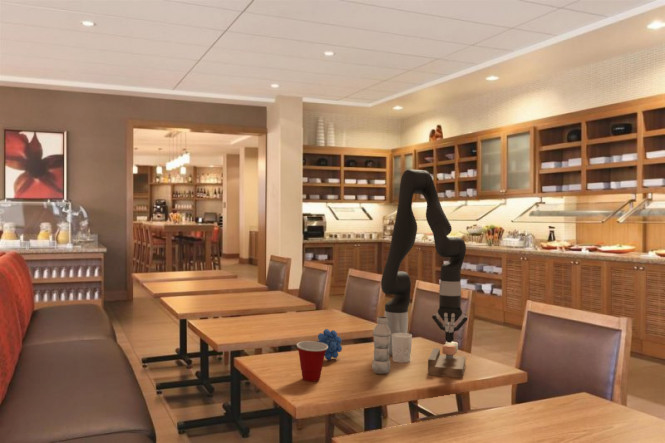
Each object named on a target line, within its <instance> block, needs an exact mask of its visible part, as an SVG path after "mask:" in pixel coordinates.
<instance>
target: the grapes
mask: <svg viewBox="0 0 665 443" xmlns="http://www.w3.org/2000/svg"><path fill="white" fill-rule="evenodd" d="M317 338H318V340H317V341H316V342H320V343H324V344H326V345H327V346H328V349H327V350H326V353H325V356H324V359H326V360H328V361H330V360H331V359H332V358H333V359H337V358H339V353H340V352H342V350H343V346H342V345H341V343H342V338H341V336H338V333H337V331H336V330H331V331H330V330H329V329H328V328H325V329H324V330H323V332H322V333H321V332H320V333H318V335H317Z"/></svg>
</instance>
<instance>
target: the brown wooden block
mask: <svg viewBox="0 0 665 443" xmlns="http://www.w3.org/2000/svg"><path fill="white" fill-rule="evenodd" d="M440 352H441V348H440V347H439V348H438V347H433V348H432V350H431V352H430V354H429V356H428V359H427V375H429V376H438V377H439V376H441V377H451V378H458V379H459V378H461V379H462V378H463V377H464V373H465V368H466V356H461V355H460V356H459V355H453V358H452V359H446V354H441V353H440Z"/></svg>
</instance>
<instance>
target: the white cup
mask: <svg viewBox="0 0 665 443" xmlns="http://www.w3.org/2000/svg"><path fill="white" fill-rule="evenodd" d="M412 339H413V335H412V333H408V332H407V333H393V334H392V353H393V356H392V361H393V362H395V363H400V364H401V363H402V364H403V363H410V362H411V354H412V342H413V340H412Z"/></svg>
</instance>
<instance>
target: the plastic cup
mask: <svg viewBox="0 0 665 443" xmlns="http://www.w3.org/2000/svg"><path fill="white" fill-rule="evenodd" d="M296 347H297V352H298V356H299V364H300V370H301V375H302V377H301V378H302V380H303V381H304V382H308V383H309V382H311V383H312V382H313V383H314V382H319V381H320V379H321V374H322V371H323V365H324V360H325V353H326V350H327V349H328V346H327V345H326V344H324V343H320V342H317V341H314V340H313V341H312V340H305V341H304V340H303V341H299V342H297V343H296Z"/></svg>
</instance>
